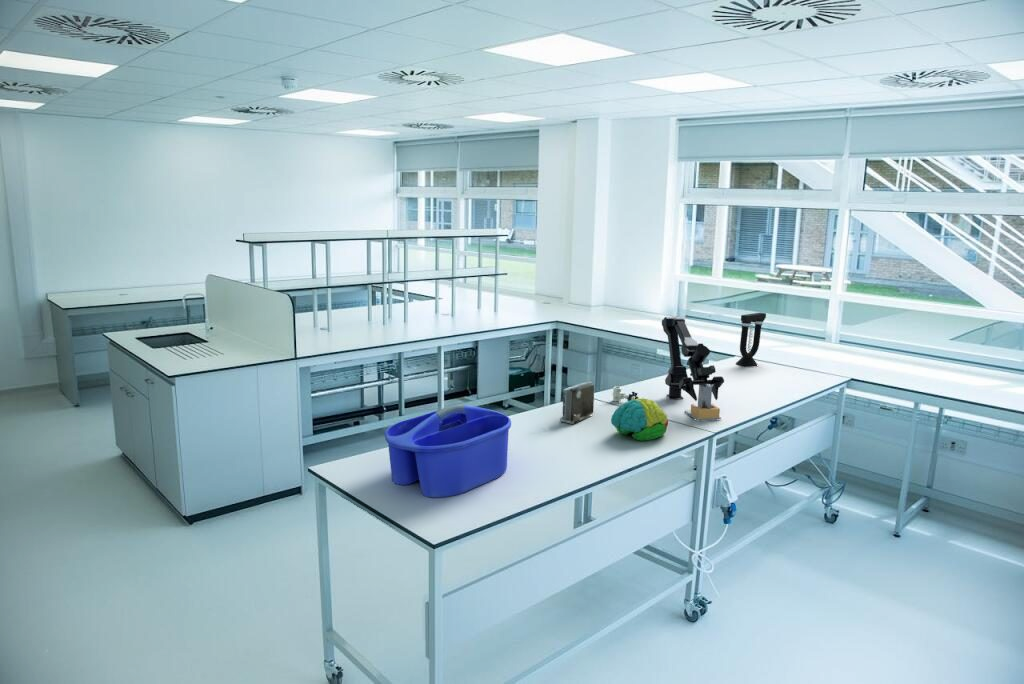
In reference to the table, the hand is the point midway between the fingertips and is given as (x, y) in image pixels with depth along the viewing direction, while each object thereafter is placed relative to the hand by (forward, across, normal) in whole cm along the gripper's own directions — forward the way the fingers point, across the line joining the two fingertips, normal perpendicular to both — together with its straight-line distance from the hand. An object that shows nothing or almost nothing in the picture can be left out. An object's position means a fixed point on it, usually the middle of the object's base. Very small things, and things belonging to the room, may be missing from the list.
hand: (706, 399), depth 275 cm
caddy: (+38, -112, -26) cm, 121 cm away
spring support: (-61, +72, +72) cm, 119 cm away
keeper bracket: (+4, 0, +8) cm, 9 cm away
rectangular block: (+4, 0, +6) cm, 7 cm away
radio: (-1, -54, +13) cm, 55 cm away
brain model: (+18, -36, -6) cm, 41 cm away
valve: (-13, -27, +25) cm, 39 cm away
